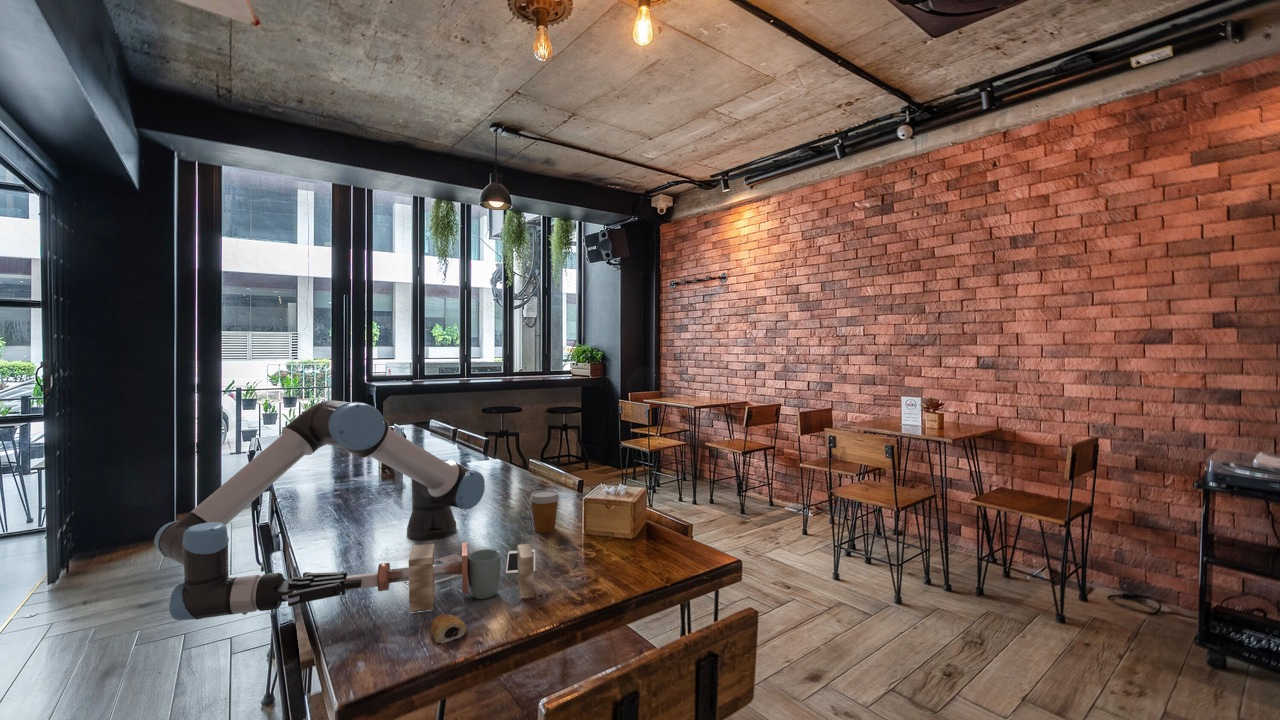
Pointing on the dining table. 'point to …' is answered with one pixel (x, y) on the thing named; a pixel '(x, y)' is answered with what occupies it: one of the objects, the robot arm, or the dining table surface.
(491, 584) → the cup
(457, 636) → the pastry
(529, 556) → the end block
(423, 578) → the bearing block
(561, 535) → the dining table surface
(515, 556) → the cell phone
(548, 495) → the disposable coffee cup
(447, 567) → the shaft
